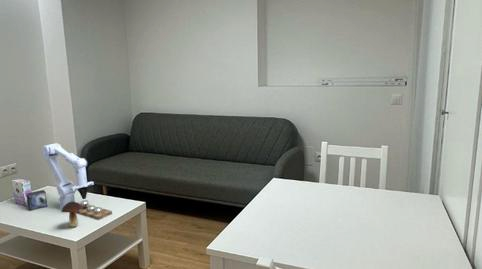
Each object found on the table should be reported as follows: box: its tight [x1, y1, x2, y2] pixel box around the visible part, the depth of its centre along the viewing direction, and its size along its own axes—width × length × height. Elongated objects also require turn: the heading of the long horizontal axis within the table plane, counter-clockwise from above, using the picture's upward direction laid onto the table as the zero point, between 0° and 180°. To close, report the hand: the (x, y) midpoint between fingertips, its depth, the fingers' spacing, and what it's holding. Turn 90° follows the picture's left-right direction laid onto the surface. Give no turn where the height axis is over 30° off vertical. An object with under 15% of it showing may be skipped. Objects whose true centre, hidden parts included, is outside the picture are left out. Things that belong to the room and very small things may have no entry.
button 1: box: [80, 199, 89, 208], centre depth 223 cm, size 4×4×4 cm
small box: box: [26, 189, 49, 212], centre depth 232 cm, size 11×6×10 cm, turn 131°
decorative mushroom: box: [61, 201, 83, 228], centre depth 200 cm, size 11×11×15 cm
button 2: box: [94, 206, 102, 213], centre depth 217 cm, size 4×4×4 cm
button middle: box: [87, 205, 96, 211], centre depth 221 cm, size 4×4×4 cm
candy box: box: [11, 178, 33, 207], centre depth 241 cm, size 14×6×16 cm, turn 58°
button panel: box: [75, 204, 113, 221], centre depth 221 cm, size 26×10×2 cm, turn 58°
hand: (84, 198), depth 223 cm, fingers closed
